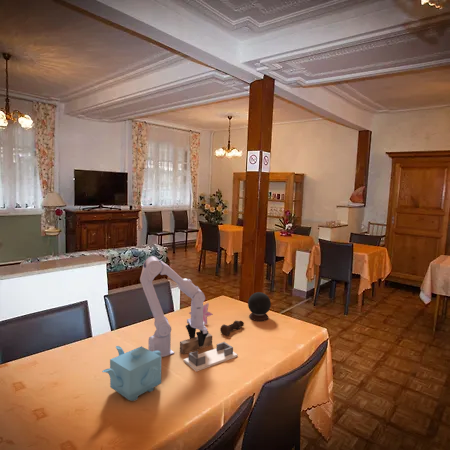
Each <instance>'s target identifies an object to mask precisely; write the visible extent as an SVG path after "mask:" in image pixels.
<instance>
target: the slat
mask: <svg viewBox="0 0 450 450" xmlns="http://www.w3.org/2000/svg"><path fill="white" fill-rule="evenodd" d="M210 346H213V334H211V333H209V332H208V335H207V336H206V338H205V341H204V345H203V346H201V347H199V344H198V337H197V336H195V337H194V338H191V339H190V338H188V339H185V340H181V341H179V352H180V353H181V354H182V355H184V354H189V353H191V352H194V351H199V350H201V349H204V348H206V347H207V348H208V347H210Z"/></svg>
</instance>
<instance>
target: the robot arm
mask: <svg viewBox="0 0 450 450" xmlns="http://www.w3.org/2000/svg"><path fill="white" fill-rule="evenodd" d="M159 274H160V275H161V276H163V275H166V276H167V277H168V278H169V279H171V280H172V281H173V282H175V283H176V284H177V285H178V286H177V287H178V289H179V290H180V291H181V292H182V293H183V294H185V295H186V296H187V297H189V298H190V299H191V301H190V302H191V304H190V312H191V315H190V318H187V319H186V323H187V324H186V325H185V328H186V330H187V332H188V337H189V339H191V338H194V337H198V344H199V347H201V346H203V345H204V341H205V338H206V336H207V335H208V333H209V331H208V328H207V327H206V325H205V322H203V305H204V301H206V296H205V293H204V292H203V291H202V290H201V289H200V287H199V286H198V285H195V284H194V283H193V281H192V280H191V279H190V278H182V277H181V276H180V275H179V273H177V272H176V271H175V270H173V269H172V268H171V267H170V265H168V264H167V263H165V262H164V261H162V259H159V258H158V257H157V256H155V255H151V256H148V257H147V258H146V259H145V261H144V262H143V264H142V270H141V274H140V277H139V281H140V284H141V287H142V289H143V292H144V295H145V298H146V300H147V303H148V305H149V308H150V311H151V314H152V316H153V318H154V319H153V320H154V327H155V331H154V333H153V335H151V336H150V337H148V350H150V351H152V352H153V351H160V352H161V358H163V357H164V358H165V357H168V356H170V355H174V354H175V351H173V350H172V349H171V342H172V340H171V339H172V338H171V337H172V336H171V335H172V334H171V333H172V326H171V324H170V323H169V320H168V318H167V317H166V316H165V314H164V311H163V307H162V306H161V303H160V301H159V298H158V294H157V293H156V288H155V287H154V284H153V281H154V279H155V278H156V277H157V276H158V275H159ZM197 330H198V331H197ZM196 331H197V332H196Z"/></svg>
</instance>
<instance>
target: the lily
mask: <svg viewBox="0 0 450 450" xmlns="http://www.w3.org/2000/svg"><path fill="white" fill-rule="evenodd" d="M208 310H209V302H207V303H205V304H203V322H205V324H204V325H205V326H207V325H208V317H210V316H213V313H212V312H211V311H208ZM188 314H189V316H191V311H189V312H188Z"/></svg>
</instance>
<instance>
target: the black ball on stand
mask: <svg viewBox="0 0 450 450" xmlns="http://www.w3.org/2000/svg"><path fill="white" fill-rule="evenodd" d="M271 306H272V302H271V299H270V297H269V296H268V295H267V294H266V293H264V292H260V291H257V292H254V293H252V294H251V295H250V296H249V298H248V300H247V307H248V310H249V311H250V312H251V313H250V314H249V316H248V318H249V320H251V321H253V322H266V321H268V320H269V316H268V313H269V311H270V310H271Z"/></svg>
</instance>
